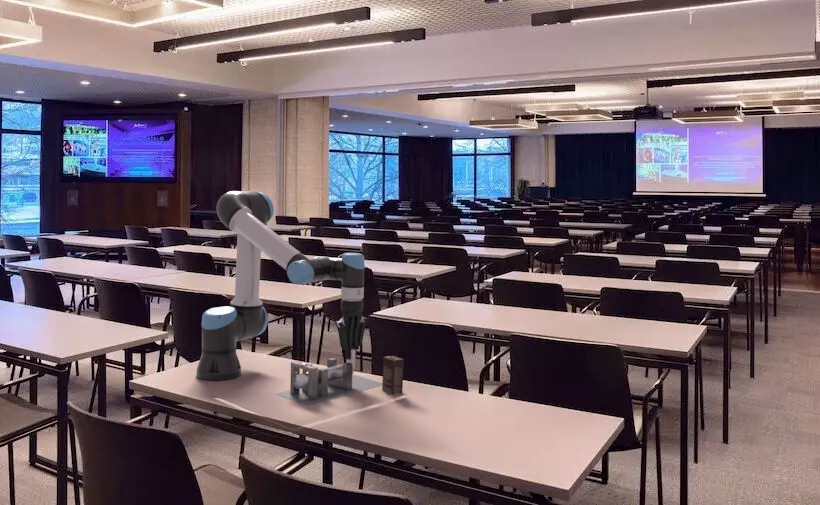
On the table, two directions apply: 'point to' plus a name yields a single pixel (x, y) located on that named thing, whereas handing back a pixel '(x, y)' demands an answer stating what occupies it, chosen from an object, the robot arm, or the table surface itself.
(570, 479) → the table surface
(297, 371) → the frame
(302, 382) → the tube
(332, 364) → the grey tube support frame
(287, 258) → the robot arm
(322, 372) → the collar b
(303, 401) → the board
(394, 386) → the box
